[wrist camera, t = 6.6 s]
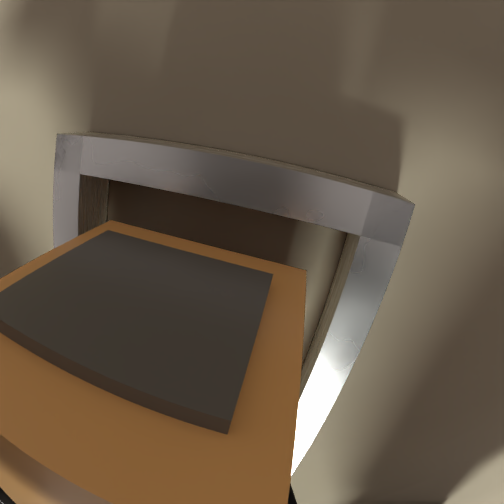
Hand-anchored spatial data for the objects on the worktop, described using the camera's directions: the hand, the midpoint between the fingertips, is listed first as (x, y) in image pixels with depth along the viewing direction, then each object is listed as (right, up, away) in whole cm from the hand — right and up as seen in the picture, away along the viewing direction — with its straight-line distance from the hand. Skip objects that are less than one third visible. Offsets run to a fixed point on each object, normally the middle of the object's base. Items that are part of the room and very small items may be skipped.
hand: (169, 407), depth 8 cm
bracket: (0, +1, +2) cm, 3 cm away
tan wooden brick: (0, 0, +1) cm, 1 cm away
